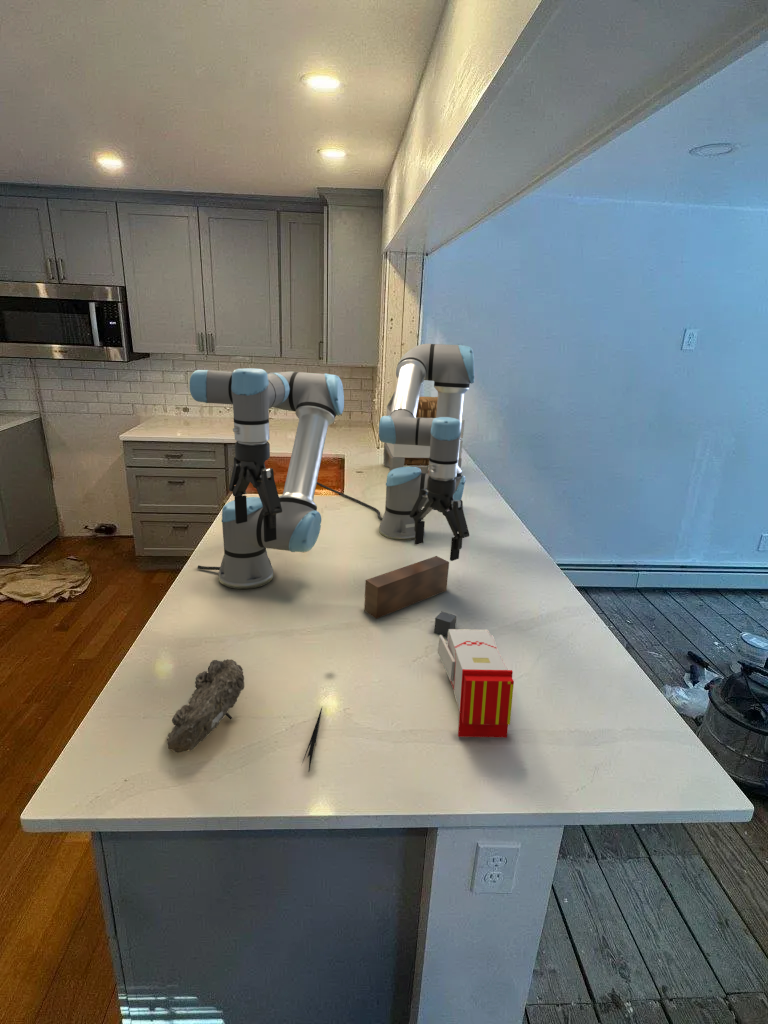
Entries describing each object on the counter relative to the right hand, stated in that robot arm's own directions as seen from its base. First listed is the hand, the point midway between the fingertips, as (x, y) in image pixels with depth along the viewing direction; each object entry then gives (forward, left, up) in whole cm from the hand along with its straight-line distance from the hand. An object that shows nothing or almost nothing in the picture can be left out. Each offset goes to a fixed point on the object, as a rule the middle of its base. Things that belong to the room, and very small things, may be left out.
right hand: (436, 551), depth 156 cm
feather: (+24, -56, -12) cm, 62 cm away
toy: (+37, -26, -12) cm, 47 cm away
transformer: (-90, +82, -12) cm, 122 cm away
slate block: (+17, -13, -12) cm, 24 cm away
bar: (0, -10, -12) cm, 16 cm away
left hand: (-13, -48, +12) cm, 51 cm away
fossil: (+11, -71, -12) cm, 73 cm away
